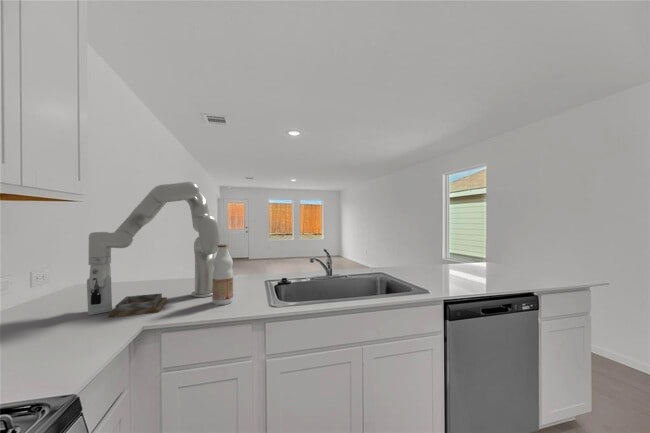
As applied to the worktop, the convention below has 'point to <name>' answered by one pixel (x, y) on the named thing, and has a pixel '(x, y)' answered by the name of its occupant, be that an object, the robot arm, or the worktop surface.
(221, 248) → the fruit juice
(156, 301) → the tray
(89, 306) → the skincare box
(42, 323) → the worktop surface
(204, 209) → the robot arm
